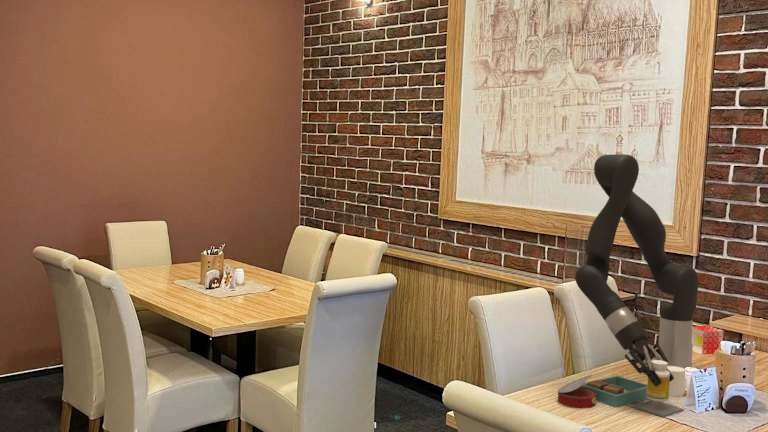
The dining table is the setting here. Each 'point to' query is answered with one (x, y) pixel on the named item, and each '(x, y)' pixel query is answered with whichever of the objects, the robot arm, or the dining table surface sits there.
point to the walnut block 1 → (597, 384)
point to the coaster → (657, 408)
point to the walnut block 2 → (613, 389)
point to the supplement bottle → (662, 390)
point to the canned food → (577, 394)
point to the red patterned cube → (706, 339)
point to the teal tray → (634, 394)
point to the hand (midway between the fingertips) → (665, 382)
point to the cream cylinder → (677, 381)
